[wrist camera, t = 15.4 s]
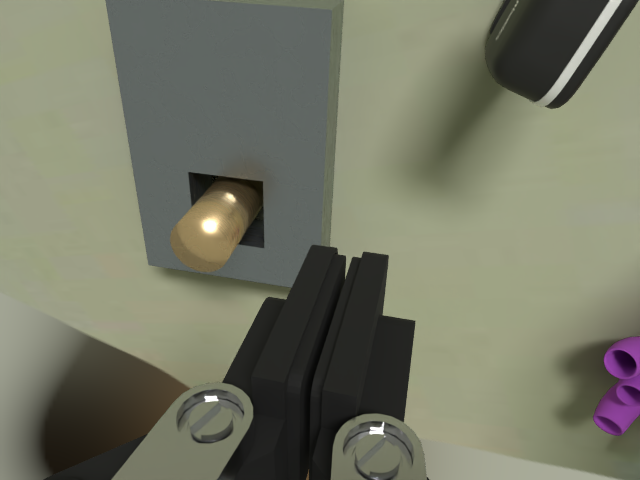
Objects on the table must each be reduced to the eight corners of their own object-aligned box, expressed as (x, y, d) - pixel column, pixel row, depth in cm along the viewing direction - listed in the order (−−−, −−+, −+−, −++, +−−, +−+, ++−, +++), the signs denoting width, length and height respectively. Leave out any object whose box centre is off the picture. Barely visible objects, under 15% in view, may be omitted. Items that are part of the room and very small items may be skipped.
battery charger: (535, -85, 29) (578, -85, 19) (598, -55, 29) (671, -41, 19) (470, 38, 33) (479, 89, 23) (525, 64, 33) (557, 125, 23)
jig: (343, 0, 33) (332, 9, 30) (328, 263, 44) (318, 292, 40) (136, -15, 35) (104, -8, 32) (170, 239, 46) (148, 264, 42)
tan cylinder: (269, 166, 40) (227, 224, 33) (269, 212, 42) (230, 276, 35) (219, 160, 41) (166, 215, 33) (222, 205, 43) (173, 266, 35)
